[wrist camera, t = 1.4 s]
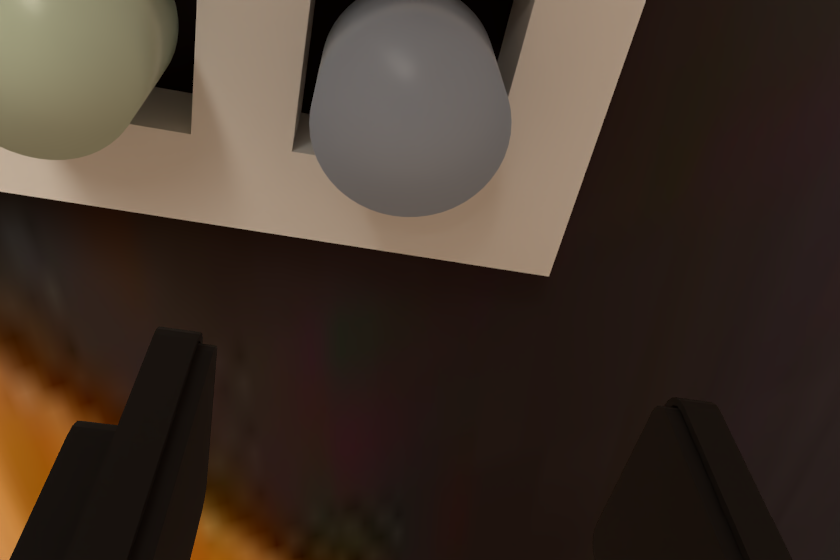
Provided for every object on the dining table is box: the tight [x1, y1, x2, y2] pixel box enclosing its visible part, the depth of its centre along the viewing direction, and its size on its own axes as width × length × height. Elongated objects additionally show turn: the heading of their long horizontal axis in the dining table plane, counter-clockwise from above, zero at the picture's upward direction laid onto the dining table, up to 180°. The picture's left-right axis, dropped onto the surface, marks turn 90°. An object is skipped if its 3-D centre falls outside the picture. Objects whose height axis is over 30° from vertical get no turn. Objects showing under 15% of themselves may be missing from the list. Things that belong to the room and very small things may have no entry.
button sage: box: [0, 0, 179, 160], centre depth 20 cm, size 5×5×4 cm
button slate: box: [309, 0, 512, 217], centre depth 21 cm, size 5×5×4 cm
